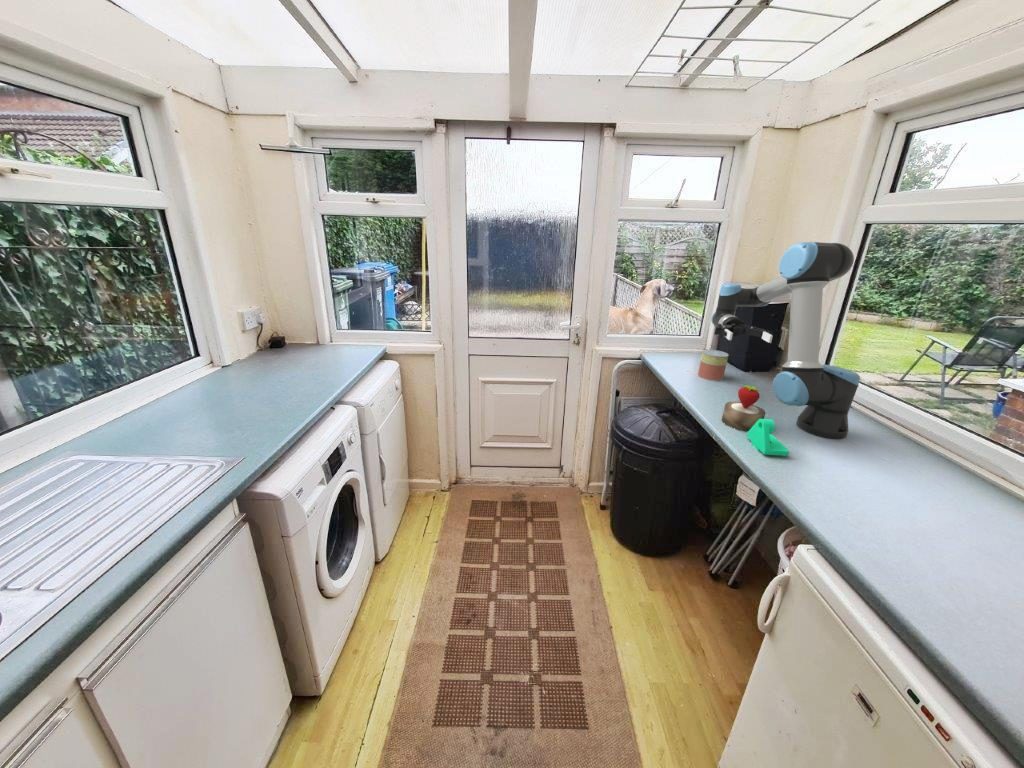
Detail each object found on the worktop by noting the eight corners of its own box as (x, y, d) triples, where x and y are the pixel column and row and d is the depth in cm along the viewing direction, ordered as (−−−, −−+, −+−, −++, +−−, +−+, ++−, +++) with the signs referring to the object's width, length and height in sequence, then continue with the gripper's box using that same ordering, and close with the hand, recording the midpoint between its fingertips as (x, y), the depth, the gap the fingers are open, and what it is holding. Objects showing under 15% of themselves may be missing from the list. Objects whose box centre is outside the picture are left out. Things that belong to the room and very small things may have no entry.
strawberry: (743, 403, 155) (750, 378, 151) (760, 411, 148) (767, 385, 144) (730, 404, 153) (736, 379, 149) (746, 413, 146) (753, 386, 143)
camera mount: (788, 458, 130) (797, 429, 127) (763, 457, 131) (771, 428, 127) (768, 440, 142) (776, 412, 138) (745, 438, 142) (753, 411, 138)
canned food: (727, 381, 195) (733, 357, 191) (703, 380, 195) (708, 356, 191) (716, 373, 206) (722, 350, 201) (693, 372, 206) (698, 349, 201)
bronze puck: (761, 421, 155) (765, 406, 153) (761, 435, 144) (766, 419, 142) (722, 413, 161) (726, 398, 159) (720, 425, 150) (724, 410, 148)
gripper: (761, 336, 170) (784, 350, 151) (697, 332, 174) (712, 345, 154) (765, 318, 168) (790, 330, 148) (701, 314, 171) (716, 325, 151)
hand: (750, 338), depth 151 cm, fingers open, 13 cm apart
